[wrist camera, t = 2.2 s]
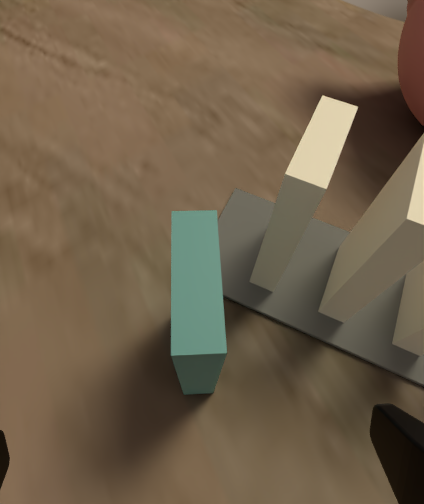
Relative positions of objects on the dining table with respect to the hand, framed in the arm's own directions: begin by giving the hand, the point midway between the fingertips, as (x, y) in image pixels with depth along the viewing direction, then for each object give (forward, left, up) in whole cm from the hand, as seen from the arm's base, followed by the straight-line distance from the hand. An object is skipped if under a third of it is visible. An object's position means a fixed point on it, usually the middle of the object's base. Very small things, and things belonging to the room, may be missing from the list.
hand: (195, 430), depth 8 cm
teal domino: (+4, +2, -11) cm, 11 cm away
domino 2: (+11, -5, -10) cm, 16 cm away
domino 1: (+11, 0, -10) cm, 15 cm away
